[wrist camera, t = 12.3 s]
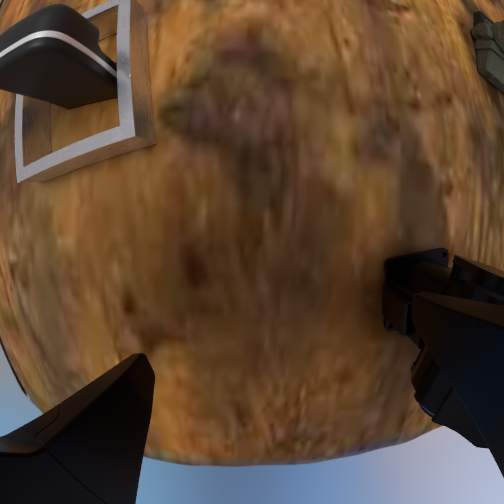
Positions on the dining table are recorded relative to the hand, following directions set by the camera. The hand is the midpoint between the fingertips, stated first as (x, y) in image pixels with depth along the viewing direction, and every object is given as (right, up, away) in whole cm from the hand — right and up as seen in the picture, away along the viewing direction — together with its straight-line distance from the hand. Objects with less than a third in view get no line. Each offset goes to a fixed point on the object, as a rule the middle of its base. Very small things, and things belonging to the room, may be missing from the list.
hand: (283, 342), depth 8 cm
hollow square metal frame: (-15, +16, +10) cm, 24 cm away
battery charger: (-14, +17, +10) cm, 24 cm away
